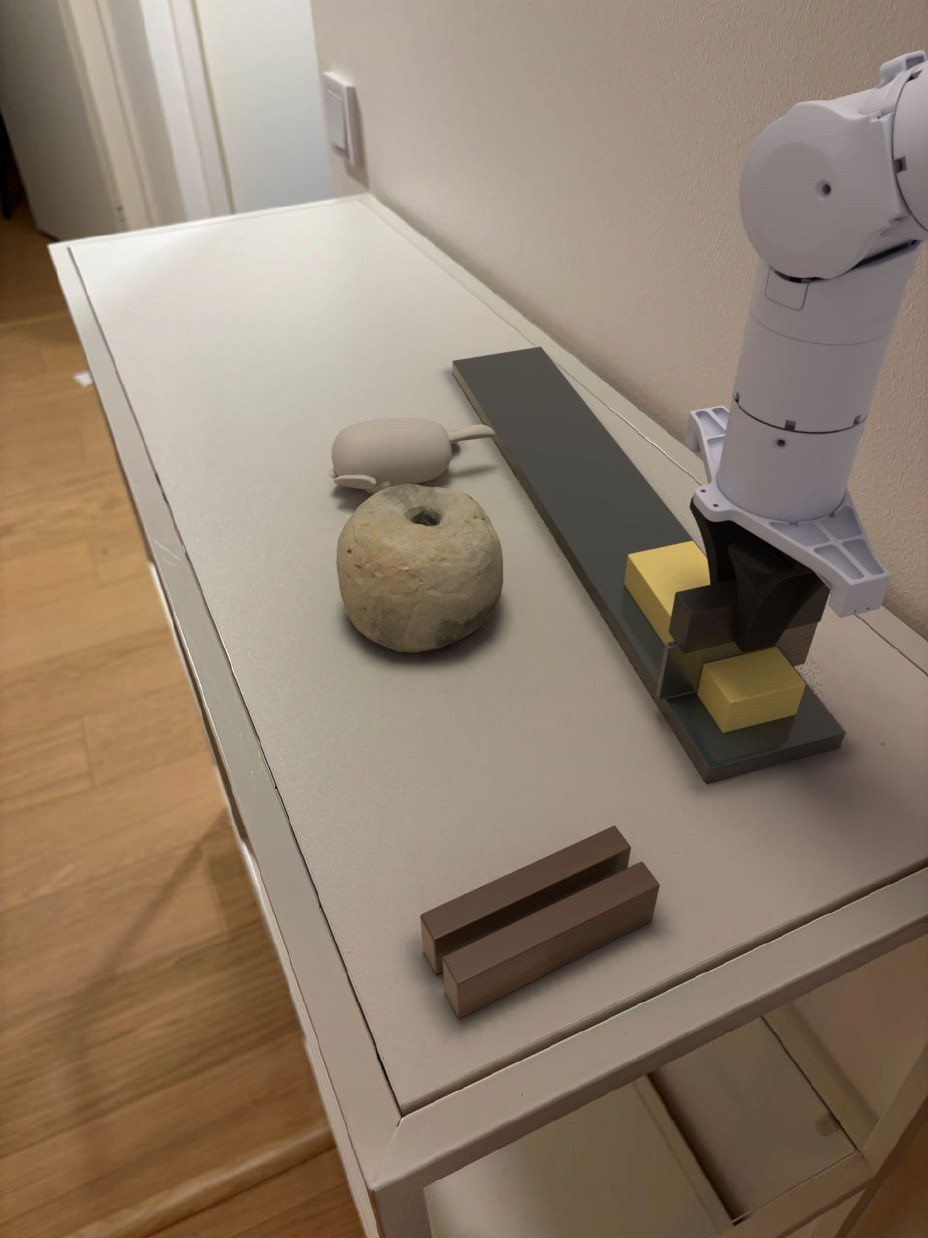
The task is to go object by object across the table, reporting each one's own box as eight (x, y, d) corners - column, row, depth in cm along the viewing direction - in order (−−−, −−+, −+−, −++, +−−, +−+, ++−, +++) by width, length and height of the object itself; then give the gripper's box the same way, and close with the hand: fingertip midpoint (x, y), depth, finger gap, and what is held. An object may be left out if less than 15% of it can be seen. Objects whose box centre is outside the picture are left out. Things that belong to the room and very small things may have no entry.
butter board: (841, 747, 52) (846, 732, 51) (705, 783, 50) (709, 768, 50) (540, 358, 85) (541, 346, 84) (452, 373, 83) (452, 360, 82)
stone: (503, 646, 53) (376, 511, 50) (392, 702, 60) (276, 586, 57) (564, 541, 59) (455, 418, 57) (458, 603, 66) (357, 495, 64)
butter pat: (796, 715, 52) (806, 684, 51) (722, 733, 51) (730, 702, 50) (767, 676, 54) (776, 645, 53) (696, 694, 53) (703, 663, 52)
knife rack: (652, 920, 45) (660, 884, 43) (458, 1019, 41) (457, 985, 39) (609, 861, 47) (614, 824, 45) (422, 949, 44) (419, 914, 42)
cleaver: (811, 672, 54) (842, 580, 50) (664, 709, 52) (681, 616, 48) (794, 650, 55) (823, 558, 51) (649, 686, 54) (665, 593, 49)
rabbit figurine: (347, 484, 65) (508, 467, 69) (332, 411, 65) (492, 399, 70) (325, 511, 70) (475, 494, 75) (311, 444, 71) (461, 431, 76)
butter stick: (743, 643, 56) (750, 612, 55) (673, 659, 55) (679, 629, 54) (687, 570, 61) (693, 539, 60) (623, 584, 60) (627, 553, 59)
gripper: (644, 339, 46) (618, 561, 56) (810, 510, 36) (744, 748, 45) (775, 318, 48) (729, 537, 57) (971, 476, 38) (876, 713, 47)
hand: (744, 629), depth 51 cm, fingers closed on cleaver, 2 cm apart
